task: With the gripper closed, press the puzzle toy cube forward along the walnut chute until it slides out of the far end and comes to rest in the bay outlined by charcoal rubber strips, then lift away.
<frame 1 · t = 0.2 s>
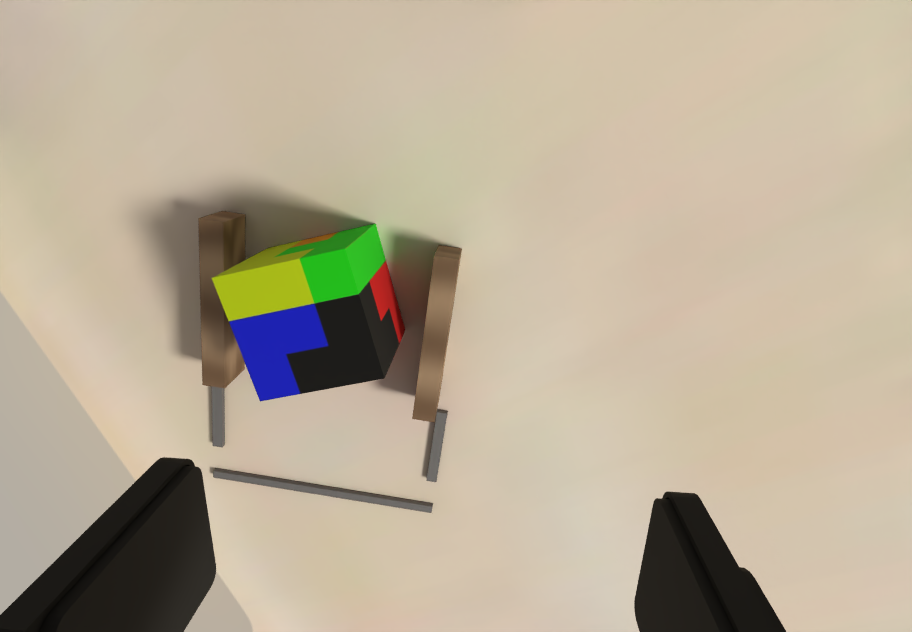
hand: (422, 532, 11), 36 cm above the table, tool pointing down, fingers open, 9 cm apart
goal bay: (328, 427, 52), on the table
puzzle toy: (338, 288, 48), on the table
chute: (336, 310, 48), on the table
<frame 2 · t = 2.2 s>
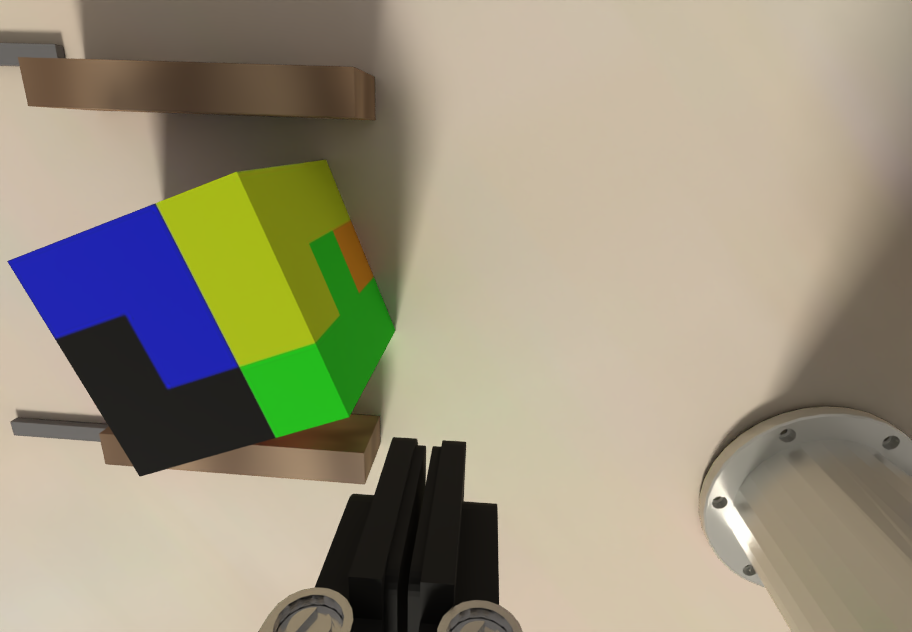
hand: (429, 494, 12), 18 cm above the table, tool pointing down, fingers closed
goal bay: (38, 263, 31), on the table
puzzle toy: (284, 275, 30), on the table
chute: (247, 275, 30), on the table
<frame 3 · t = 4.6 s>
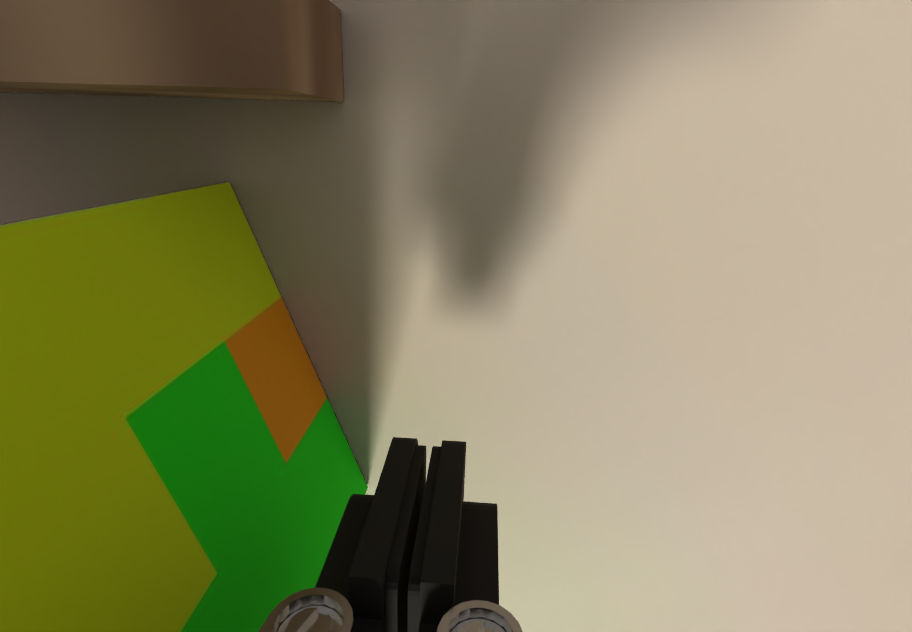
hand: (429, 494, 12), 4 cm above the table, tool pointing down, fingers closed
puzzle toy: (163, 389, 16), on the table, touching gripper
chute: (117, 390, 16), on the table
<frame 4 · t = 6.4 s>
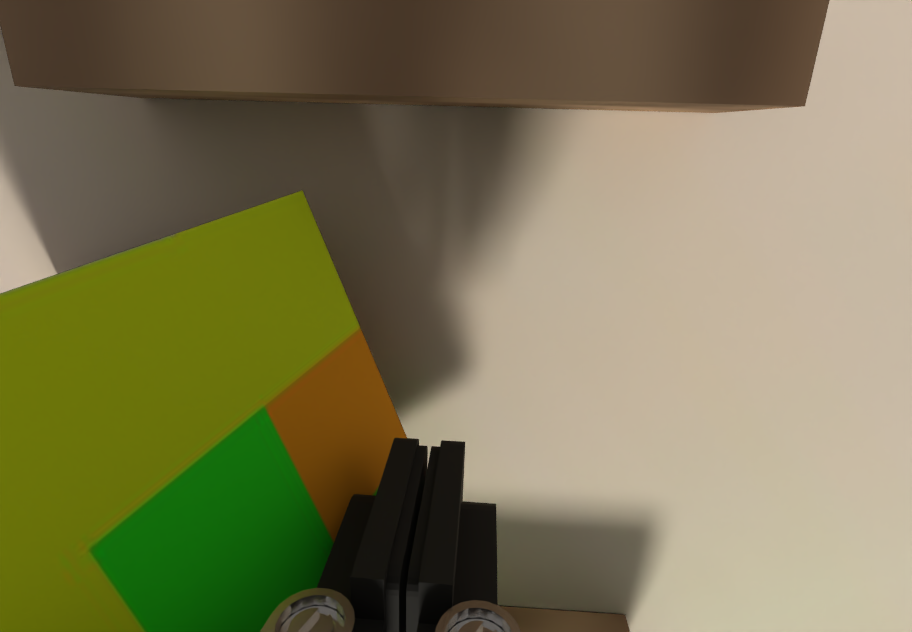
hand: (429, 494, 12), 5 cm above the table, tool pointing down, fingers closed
puzzle toy: (251, 400, 15), point 1 cm above the table, touching gripper
chute: (420, 395, 17), on the table
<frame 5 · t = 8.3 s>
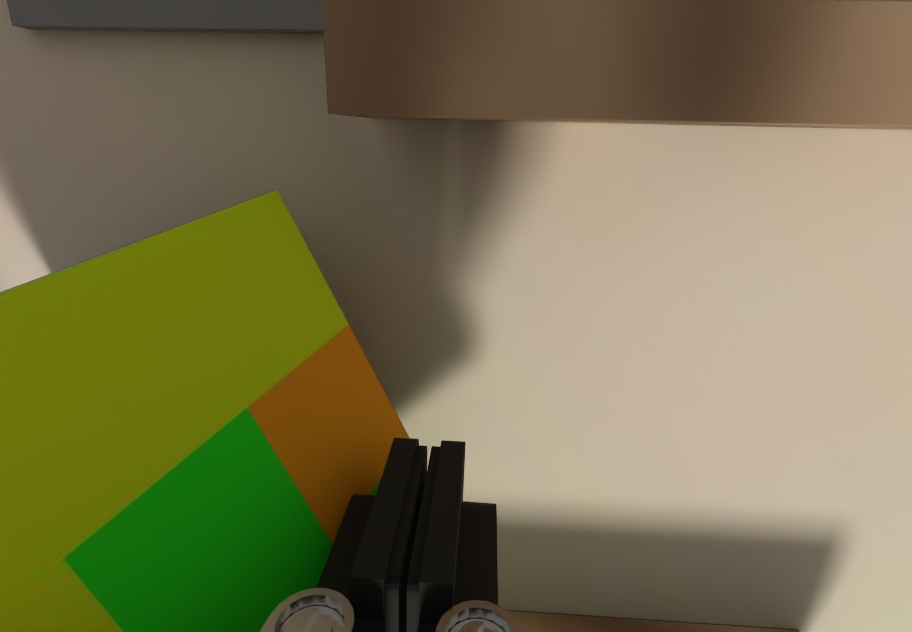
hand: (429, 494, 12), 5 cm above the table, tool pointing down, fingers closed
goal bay: (227, 393, 17), on the table
puzzle toy: (255, 405, 15), point 2 cm above the table, touching gripper
chute: (617, 412, 16), on the table
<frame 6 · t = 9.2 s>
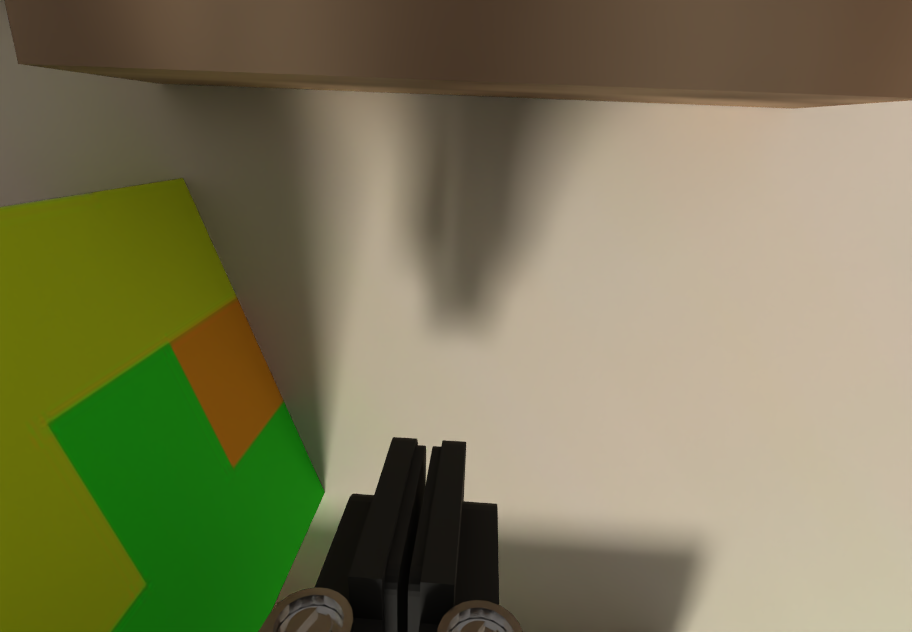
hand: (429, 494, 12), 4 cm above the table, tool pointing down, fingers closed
puzzle toy: (116, 387, 16), on the table
chute: (454, 412, 15), on the table
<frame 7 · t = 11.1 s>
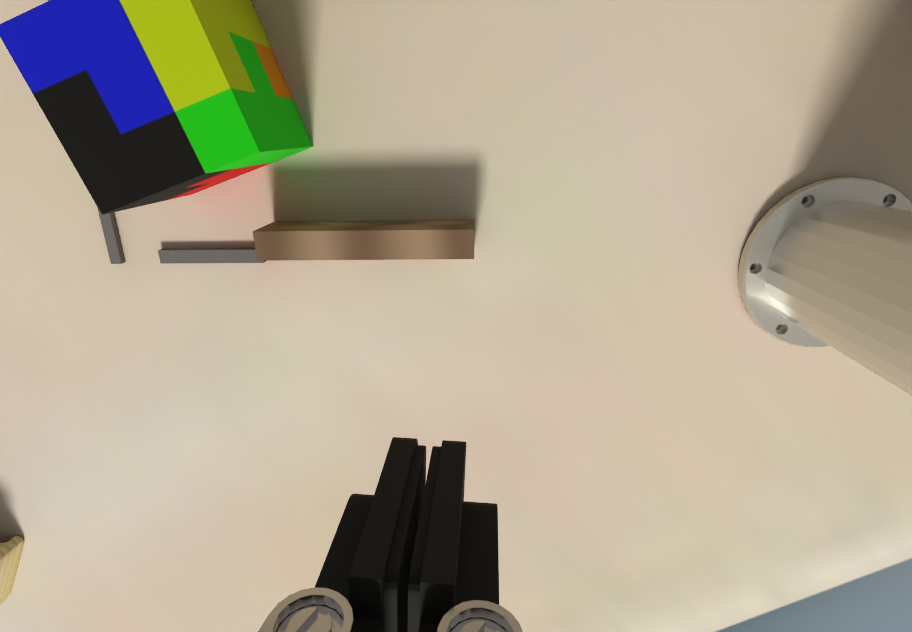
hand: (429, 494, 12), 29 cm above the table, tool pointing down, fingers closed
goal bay: (187, 100, 37), on the table
puzzle toy: (220, 101, 37), on the table
chute: (364, 97, 36), on the table
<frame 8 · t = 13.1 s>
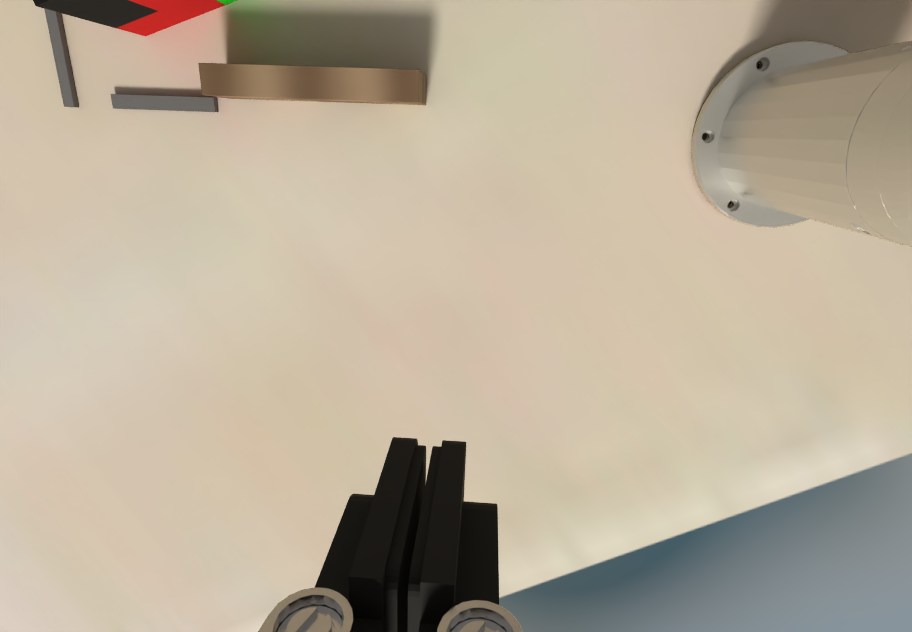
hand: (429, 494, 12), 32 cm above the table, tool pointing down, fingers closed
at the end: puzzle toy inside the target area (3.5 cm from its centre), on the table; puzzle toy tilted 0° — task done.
